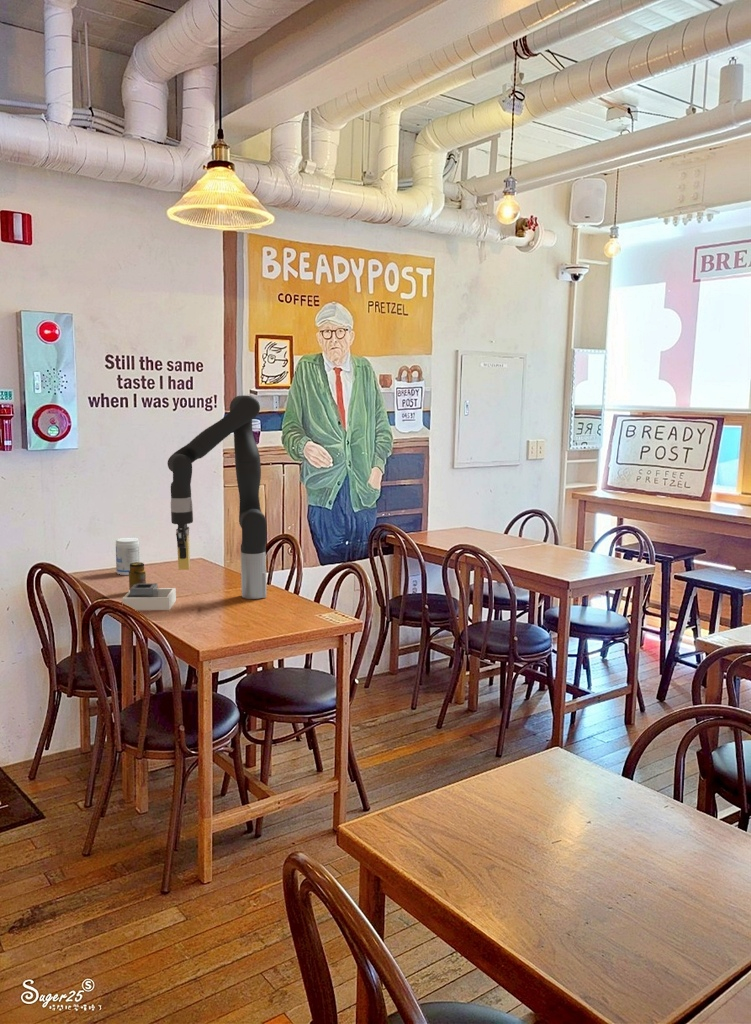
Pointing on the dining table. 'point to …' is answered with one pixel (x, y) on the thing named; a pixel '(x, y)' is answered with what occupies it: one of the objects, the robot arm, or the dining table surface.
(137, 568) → the condiment
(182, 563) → the plug
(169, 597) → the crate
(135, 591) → the socket
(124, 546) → the supplement tub
